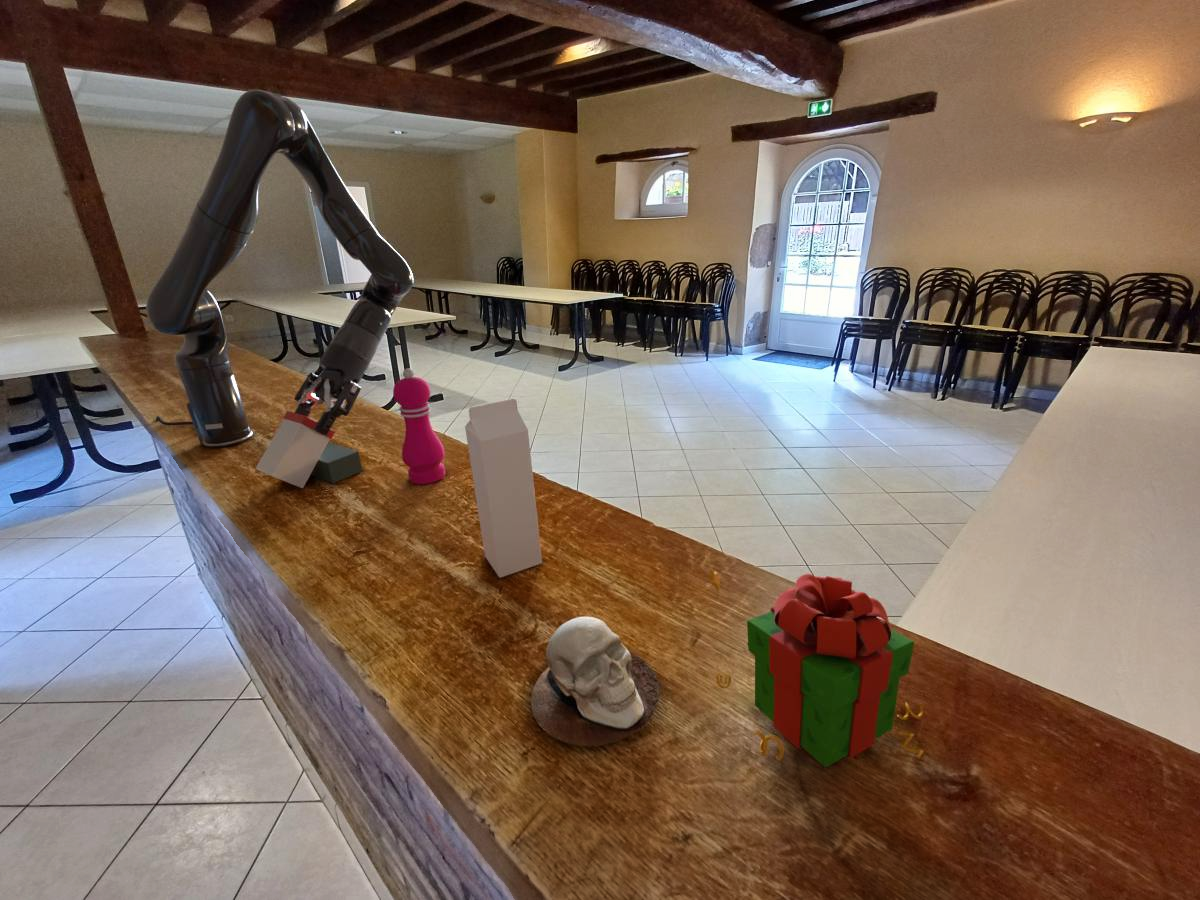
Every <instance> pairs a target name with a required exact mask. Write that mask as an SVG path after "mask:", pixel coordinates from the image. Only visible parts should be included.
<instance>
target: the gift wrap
mask: <svg viewBox="0 0 1200 900" xmlns="http://www.w3.org/2000/svg"><path fill="white" fill-rule="evenodd" d="M709 572H710V577H711V584H710V585H713V586H714V588H715V590H716V592H717V593H718V592H719V590H720V584H721V581H720V579H719V575H718V572H717V571H711V570H709ZM852 587H853V581H851V580H845V579H843V578H842V577H836V576H835V577H833V576H829V575H826V576H817V575H814V574H811V573H805V574H802V575H801V576H799V577H798V578H797V579H796V581H795V587H792V588H790V589H787V590H785V591H783V592H782V593H780V595H778V597H777V598H776V600H775V604H774V606H773V607H770V611H769V612H766V613H764V614H761V615H758V616H755V617H753V618H750V619H747V621H746V626H747V627H746V628H747V642H746V645H747V651H748V652H749V654H751V655H752V656H753V658H754V706H755V707H756V708H757V709H758V710H759V711H761V713H762V714H764V715H765V716H766V717H767V718H768V719H770V720H771V722H773V728H774V729H776V730H777V731H778V732H779V733H780V734H781V735H782V736H784V737H785V738H786V739H787V740H788V741H789V742H790V743H791V744H793V745H794V746H795V747H796V748H797V749H798V750H800V749H802V748H803V749H804V750H805V751H806V752H807V753H808V754H809V755H810V756H812V757H813V758H814V759H815V760H817V761H818V762H819V763H820V764H821V765H822V766H823V767H824V768H827V767H829V766H831V765H833V764H834V763H836V762H838V761H840V760H842V759H843V758H845V757H846V758H848V759H851V758H853V757H855V756H857V755H858V754H860V753H862V752H864V751H865V750H867V749H869V748H870V747H872V746H874V744H875V740H876V739H877V738H880V737H881V736H882V735H885V734H886V733H888V732H890V731H891V730H893V726H894V719H895V712H896V705H897V698H898V692H899V685H900V679H901V678H902V677H904V676H906V675H908V674H909V672H910V667H911V662H912V661H911V660H912V658H913V657H912V656H913V651H914V646H915V641H913V640H912V639H910V638H908V637H906V636H904V635H903V634H901V633H899V632H897V631H895V630H893V629H892V628H891V625H890V621H889V618H888V613H887V611H886V609H885V607H884V606H883V604H882V603H881V602H880V601H879V600H878V599H876V598H873V597H869V595H868V594H867V593H865V592H864V591H858V592H857V591H856V590H854V588H853V589H852ZM877 617H878V618H877ZM881 619H882V620H881ZM723 677H724V678H723ZM723 679H724V684H725V685H722V684H721V683H723ZM715 682H716V684H717V686H718V687H719V688H721V689H727V688H729V687H730V685H731V683H732V677H731V675H730V674H726V675H725V676H723V674H722V673H721V672H719V673H717V674H716V677H715ZM904 705H905V715H904V716H902V715H901V714H897V715H896V717H898V718H899V720H902V721H906V720H907V719H908V718H909V714H910V715H911V716H912V717H913V718H915V719H921V718H922V717H923V715H924V703H923V702H922V701H919V706H920V707H919V708H920V709H919V711H920V712H919V713H918V714H915V712H913V711H912V709H911V708H910V705H909V704H908V702H905V704H904ZM753 734H755V735H757V736H759V737H760V739H761V741H760V743H759V754H760V756H761V757H765V756H766V755H767V754H768V748H769V747H768V741H769V740H774V741H775V742H776V744H777V746H778V749H779V754H777V755H775V757H776V760H777V761H778V762H779V761H780V762H781V761H782V760H783V757H784V753H785V752H784V745H783V742H782V741H781V739H780V738H779V736H777V735H775V734H773V733H770V734H767V735H765V734H764V733H763V731H760V730H758V729H754V731H753ZM897 734H898V735H901V736H908V737H907V738H906V739H905V740H904V741H903V744H902V745H901V749H903V751H907V752H911V753H917V754H916V757H917V759H918V760H919V759H920V758H921V757H922V755H923V754H924V753H925V751H924V750H923V749H919V748H911V747H907V745H908V744H909V742H911V740H912V739H913V738H914V736H915V733H913V732H908V731H900V730H898V732H897Z"/></svg>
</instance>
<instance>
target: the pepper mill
mask: <svg viewBox="0 0 1200 900" xmlns="http://www.w3.org/2000/svg"><path fill="white" fill-rule="evenodd" d="M402 376H403V378H401V379H400V380H398V381H397V382H396V383H395V384H394V386H393V391H392V394H393V399H394V401H395V402H396V403H397V404H398V405H400V406H399V408H398V409H399V411H400V413H399V414H400V416H401V417H403V421H404V424H405V436H404V440H403V443H402V447H401V448H402V449H401V458H402V462H403V464H404V465H405V466H407V467H408V470H407V473H408V479H409V481H410V483H413V484H416V485H426V484H433V483H435V482H438V481H440V480H442V479H443V478H444V477H445V476H446V469H445V465H444V463H442V461H443V460H444V459H445V455H446V454H445V453H446V452H445V449H444V445H443V444H442V441H441V439H440V438H439V437H438V436H437V434H436V433H435V430H434V429H433V426H432V425H431V420H430V413H431V404H430V403H429V402H428V401H429V400H430V398H431V388H430V385H429V384H428V382H427V381H426V380H425V379H423V378H421V377H418V376H415V372H414V370H413V369H411V368H405V369H404V370H403V371H402Z"/></svg>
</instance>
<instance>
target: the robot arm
mask: <svg viewBox="0 0 1200 900" xmlns="http://www.w3.org/2000/svg"><path fill="white" fill-rule="evenodd" d="M226 128H227V129H226V132H225V134H224V138H223V142H222V145H221V148H220V151H219V153H218V156H217V159H216V160H215V161H216V162H215V164H214V166H213V167H212V169H211V172H210V175H209V176H208V179H207V181H206V184H205V186H204V188H203V190H202V193H200V196H199V197H198V200H197V202H196V204H195V206H194V208H193V210H192V212H191V215H190V217H189V220H188V222H187V225H186V227H185V230H184V232H183V234H182V236H181V237H180V240H179V242H178V244H177V246H176V249H175V251H174V252H173V255H172V256H171V259H170V261H169V263H168V264H167V266H166V268H165V269H164V271H163V272H162V274H161V276H160V277H159V279H157V282H156V283H155V284H154V286H153V288H152V289H151V291H150V292H149V295H148V297H147V299H146V302H145V303H146V304H145V311H146V316H147V319H148V321H149V323H150V324H151V326H152V327H153V328H154V329H155V330H156V331H158V332H159V333H162V334H165V335H168V336H183V342H182V344H181V347H180V348H179V349H178V350H177V352H176V353H175V354H174V356H173V359H174V363H175V365H176V368H177V371H178V374H179V376H180V380H181V382H182V385H183V387H184V391H185V393H186V396H187V399H188V402H187V403H186V407H187V410H188V413H189V416H190V419H191V421H173V422H172V421H171V422H170V421H164V420H163V419H162V417H161V416H159V415H157V416H156V417H155V422H159V423H160V424H162V425H164V426H186V425H187V426H188V425H189V426H192V425H193V428H194V431H195V433H196V437H197V439H198V441H199V444H200V445H203V446H204V447H205V448H222V447H229V446H233V445H236V444H241V443H243V442H245V441H248V440H249V439H251V438H252V437H253V436H254V432H253V431H252V428H251V425H250V421H249V418H248V416H247V412H246V409H245V406H244V403H243V399H242V396H241V393H240V390H239V386H238V384H237V380H236V377H235V374H234V371H233V368H232V365H231V362H230V357H229V354H228V352H229V339H228V336H227V332H226V328H225V324H224V321H223V316H222V313H221V309H220V307H219V304H218V302H217V300H216V298H215V297H214V296H213V294H212V293H211V291H209V290H207V288H208V286H209V285H210V284H211V283H212V282H213V281H214V279H215V278H217V277H218V276H219V275H220V274H221V273H222V272H223V271H224V270H226V268H228V267H229V266H230V265H231V264H232V263H233V262H234V261H235V260H236V259H237V258H238V257H239V256H240V255H241V253H243V251H244V249H245V248H246V246H247V244H248V243H249V240H250V238H251V236H252V234H253V232H254V231H255V229H256V226H257V222H258V217H259V188H260V184H261V181H262V178H263V175H264V173H266V170H267V168H268V166H269V164H270V163H271V161H272V160H273V158H274V157H275V155H276V154H281V155H283V156H284V157H285V158H286V159H287V160H288V161H289V162H290V163H291V165H292V166H294V168H295V169H296V170H297V171H298V173H299V175H301V176H302V178H303V180H304V181H305V182H306V184H307V186H308V188H309V190H310V192H311V194H312V196H313V199H314V202H315V204H316V206H317V209H318V211H319V213H320V214H319V215H320V216H321V217H322V220H323V221H324V223H325V225H326V226H327V228H328V229H329V231H330V232H331V234H332V235H333V236H334V237H335V239H336V240H337V241H338V243H339V244H340V246H341V247H342V248H343V250H344V251H345V252H346V253H347V254H348V255H349V257H350V258H352V260H356V261H360V262H361V264H362V265H363V266H364V267H365V268H366V269H367V270H368V272H369V273H370V276H369V277H368V279H367V282H366V284H365V285H364V288H363V290H362V292H361V294H360V296H359V298H358V300H357V302H355V303H354V305H353V306H352V308H351V309H350V311H349V313H348V315H347V316H346V318H345V320H344V322H342V325H340V327H339V329H338V330H337V331H336V332H335V334H334V336H333V337H332V339H331V341H330V342H329V344H328V346H327V348H326V350H325V351H324V353H323V354H322V356H321V358H320V360H319V361H318V365H319V366H320V367H321V368H322V372H321V373H320V374H318V375H316V374H315V373H313V372H309V374H308V375H307V377H306V378H305V380H304V382H303V383H302V385H301V386H300V388H299V389H298V391H297V392H296V394H295V395H294V397H293V398H294V400H295V401H296V402H297V404H298V406H297V407H296V409H295V411H294V413H297V414H301V415H304V416H307V417H309V415H310V413H311V412H312V410H313V409H314V408H315V407H316V406H317V405H322V404H324V403H325V411H323V413H322V415H321V416H320V418H319V420H318V421H317V422H318V423H317V425H316V427H315V431H316V432H318V433H320V434H322V435H327V434H328V432H329V431H330V429H332V427H333V426H334V423H335V422H336V420H337V418H340V417H341V416H344V417H347V416H348V415H349V414H350V412H351V410H352V408H353V406H354V404H355V403H356V400H357V398H358V396H359V395H360V392H361V391H362V387H361V386H360V385H359V383H360V382H361V380H362V378H363V376H364V375H365V373H366V371H367V369H368V368H369V366H370V363H371V362H372V360H373V358H374V357H375V354H376V353H377V350H378V347H379V345H380V343H381V341H382V339H383V337H384V336H385V333H386V332H387V330H388V328H389V326H390V323H391V317H392V316H393V315H394V313H395V311H396V309H397V307H398V306H399V304H400V303H401V301H402V299H403V298H404V297H405V296H406V295H407V294H408V293H409V292H410V291H411V289H412V288H413V284H414V275H413V273H412V270H411V268H410V267H409V265H408V263H407V261H406V260H405V258H403V257H402V256H401V254H400V253H398V251H396V250H395V249H394V248H393V246H392V245H391V244H390V243H388V242H387V241H386V240H385V239H384V238H383V237H382V236H381V235H380V233H379V232H378V230H377V229H376V228H375V226H374V225H373V223H372V222H371V220H370V219H369V218H368V216H367V215H366V214H365V212H364V210H363V209H362V208H361V206H360V205H359V204H358V202H357V201H356V199H355V198H354V197H353V195H352V193H351V192H350V191H349V189H348V188H347V186H346V185H345V183H344V182H343V180H342V178H341V177H340V175H339V174H338V172H337V170H336V168H335V167H334V165H333V164H332V161H331V160H330V158H329V156H328V154H327V153H326V151H325V149H324V147H323V145H322V143H321V142H320V139H319V137H318V136H317V134H316V132H315V130H314V128H313V126H312V124H311V123H310V121H309V119H308V118H307V116H306V114H305V112H304V111H303V110H302V108H301V107H300V106H299V105H298V104H297V103H296V102H295V101H293V100H291V99H289V98H288V97H285V96H283V95H280V94H276V93H273V92H270V91H266V90H262V89H250V90H248V91H245V92H244V93H242V94H241V95H240V96H239V97H238V99H237V100H236V102H235V103H234V106H233V109H232V111H231V114H230V118H229V121H228V125H227V127H226Z"/></svg>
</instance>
